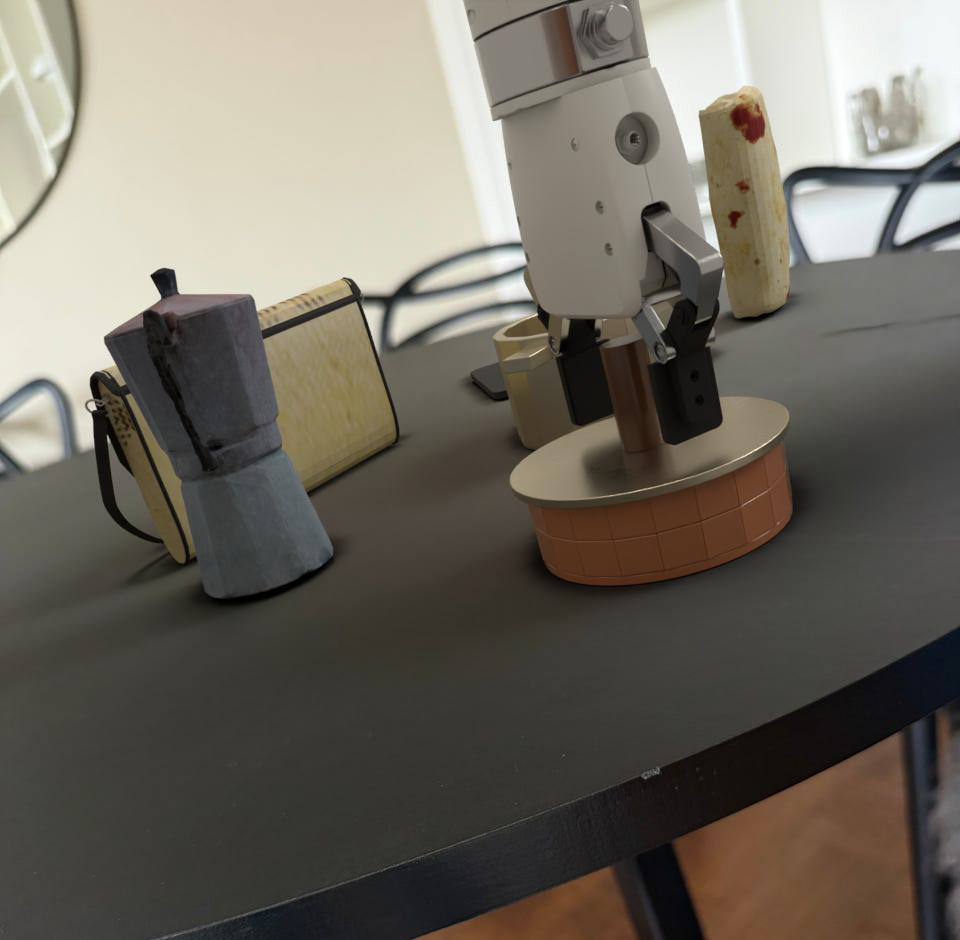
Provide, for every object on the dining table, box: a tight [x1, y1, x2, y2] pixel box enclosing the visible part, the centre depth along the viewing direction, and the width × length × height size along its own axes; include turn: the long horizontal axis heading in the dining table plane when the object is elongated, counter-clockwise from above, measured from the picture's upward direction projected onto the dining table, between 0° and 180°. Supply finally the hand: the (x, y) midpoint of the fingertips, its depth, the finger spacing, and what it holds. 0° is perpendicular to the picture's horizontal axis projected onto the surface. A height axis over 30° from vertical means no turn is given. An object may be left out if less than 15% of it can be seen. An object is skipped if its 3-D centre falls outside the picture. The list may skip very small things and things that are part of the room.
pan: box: [527, 438, 794, 587], centre depth 55 cm, size 14×14×4 cm
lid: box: [509, 334, 792, 509], centre depth 53 cm, size 15×15×7 cm
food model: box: [698, 85, 791, 319], centre depth 97 cm, size 10×7×20 cm
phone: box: [469, 361, 509, 400], centre depth 104 cm, size 7×1×15 cm
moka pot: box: [103, 267, 334, 600], centre depth 64 cm, size 10×15×20 cm, turn 10°
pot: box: [492, 309, 673, 451], centre depth 79 cm, size 14×19×8 cm
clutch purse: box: [84, 276, 401, 566], centre depth 83 cm, size 30×7×15 cm, turn 144°
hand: (642, 425), depth 54 cm, fingers open, 8 cm apart
